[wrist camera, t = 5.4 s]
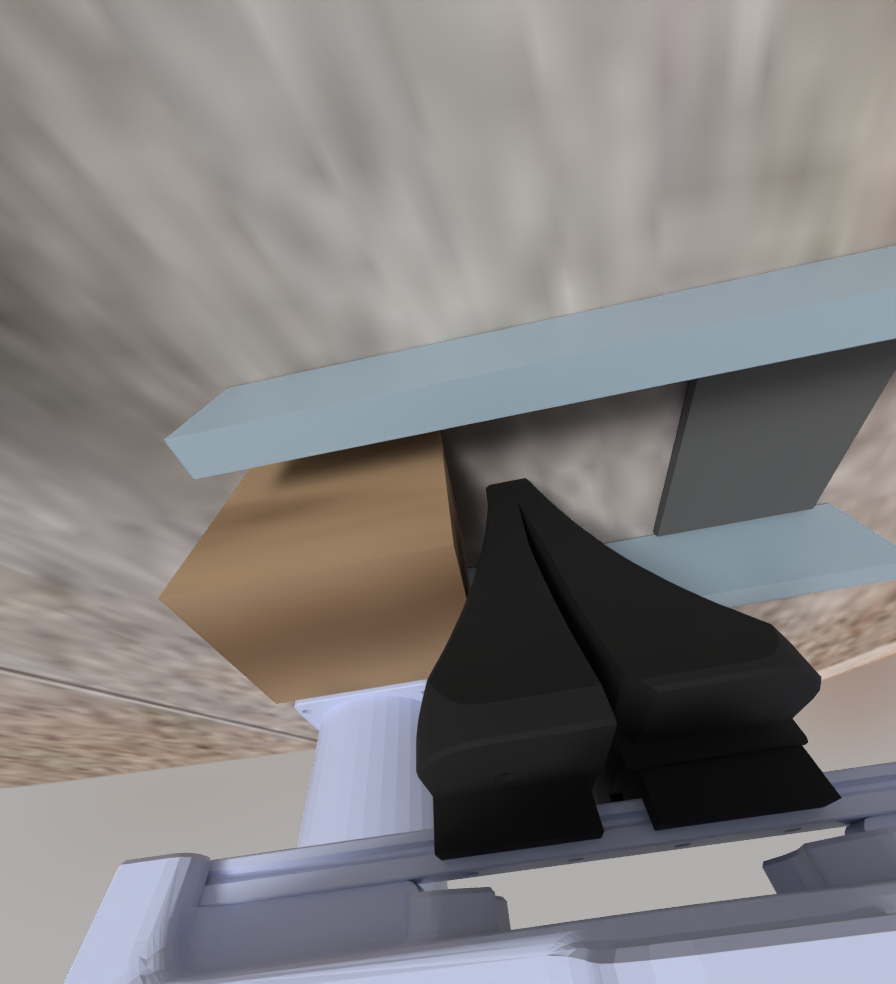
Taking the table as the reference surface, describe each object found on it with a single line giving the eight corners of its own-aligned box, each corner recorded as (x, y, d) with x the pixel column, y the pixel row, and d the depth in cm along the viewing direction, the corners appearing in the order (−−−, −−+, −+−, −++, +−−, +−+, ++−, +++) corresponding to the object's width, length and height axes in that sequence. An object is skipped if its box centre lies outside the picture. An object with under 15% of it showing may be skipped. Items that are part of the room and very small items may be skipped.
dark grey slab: (806, 503, 14) (812, 508, 14) (653, 531, 14) (657, 536, 14) (930, 286, 9) (943, 287, 9) (700, 334, 10) (708, 336, 9)
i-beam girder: (818, 521, 14) (898, 578, 12) (353, 604, 15) (341, 672, 13) (1004, 222, 8) (1237, 217, 6) (227, 387, 9) (163, 439, 7)
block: (463, 542, 14) (483, 669, 10) (316, 568, 14) (276, 703, 10) (439, 428, 11) (453, 544, 7) (252, 465, 11) (157, 598, 7)
